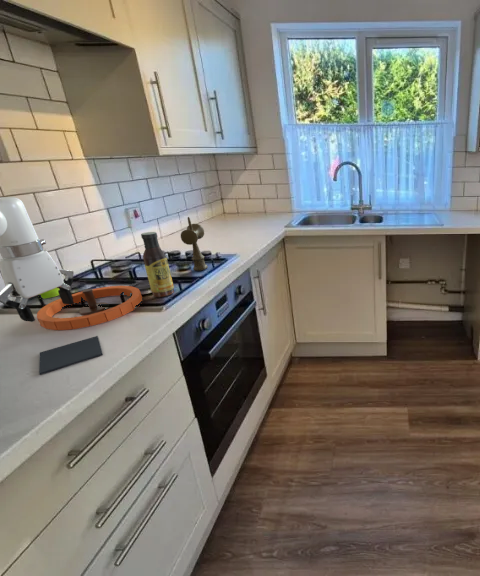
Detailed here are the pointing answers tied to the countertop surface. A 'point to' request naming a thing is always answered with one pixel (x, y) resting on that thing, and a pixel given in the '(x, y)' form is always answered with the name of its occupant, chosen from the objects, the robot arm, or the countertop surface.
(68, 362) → the pad
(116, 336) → the countertop surface
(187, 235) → the kendama
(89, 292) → the post
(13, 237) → the robot arm
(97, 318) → the ring
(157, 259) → the sauce bottle
